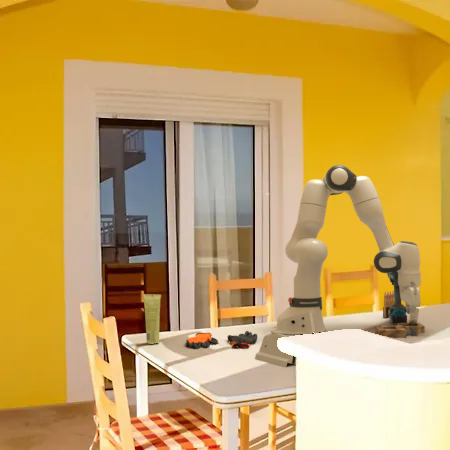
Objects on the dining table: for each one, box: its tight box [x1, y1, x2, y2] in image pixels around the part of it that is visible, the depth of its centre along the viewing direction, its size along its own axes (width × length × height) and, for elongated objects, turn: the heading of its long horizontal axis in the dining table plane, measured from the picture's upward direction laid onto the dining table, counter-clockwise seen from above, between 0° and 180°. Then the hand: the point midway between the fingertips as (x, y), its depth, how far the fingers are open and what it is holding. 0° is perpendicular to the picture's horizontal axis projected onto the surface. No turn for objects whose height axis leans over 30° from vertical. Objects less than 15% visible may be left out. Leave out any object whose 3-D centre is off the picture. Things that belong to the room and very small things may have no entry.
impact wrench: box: [386, 271, 408, 325], centre depth 274 cm, size 8×22×25 cm, turn 174°
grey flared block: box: [254, 333, 297, 368], centre depth 208 cm, size 17×5×10 cm, turn 35°
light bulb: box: [408, 307, 420, 326], centre depth 253 cm, size 3×3×9 cm
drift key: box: [406, 327, 418, 336], centre depth 244 cm, size 9×4×3 cm, turn 86°
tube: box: [142, 293, 162, 343], centre depth 245 cm, size 6×5×20 cm
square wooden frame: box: [396, 322, 426, 334], centre depth 253 cm, size 9×9×2 cm
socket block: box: [374, 324, 407, 339], centre depth 245 cm, size 10×10×3 cm
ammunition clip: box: [382, 291, 395, 319], centre depth 289 cm, size 11×2×12 cm, turn 124°
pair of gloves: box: [185, 330, 258, 350], centre depth 243 cm, size 27×24×3 cm
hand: (410, 315), depth 253 cm, fingers open, 5 cm apart
